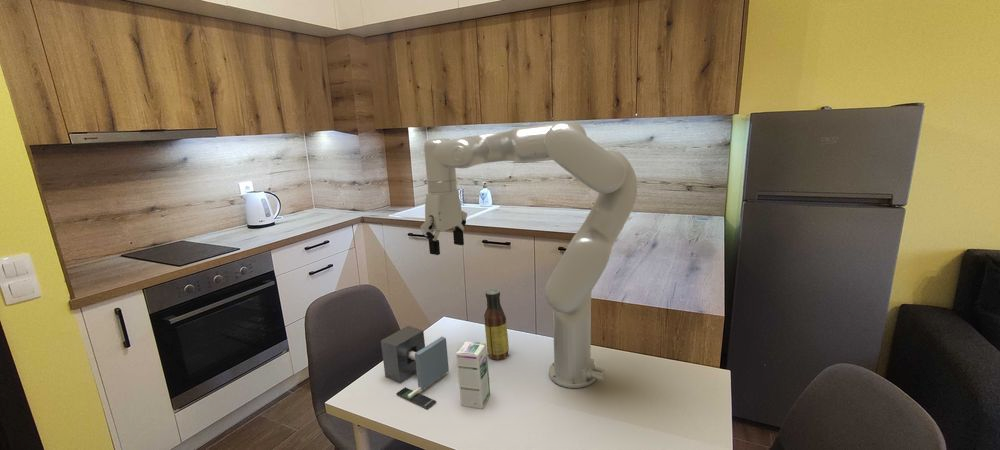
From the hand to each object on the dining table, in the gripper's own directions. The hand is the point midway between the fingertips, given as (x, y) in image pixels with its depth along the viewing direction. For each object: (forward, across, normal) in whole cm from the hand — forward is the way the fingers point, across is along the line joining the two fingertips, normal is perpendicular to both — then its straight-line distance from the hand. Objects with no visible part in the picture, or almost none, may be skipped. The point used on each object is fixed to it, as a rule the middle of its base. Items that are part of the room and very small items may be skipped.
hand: (447, 249), depth 120 cm
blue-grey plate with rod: (+32, +14, -4) cm, 35 cm away
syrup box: (+34, +12, +17) cm, 39 cm away
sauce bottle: (+34, -8, +9) cm, 36 cm away
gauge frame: (+33, +14, -1) cm, 36 cm away
